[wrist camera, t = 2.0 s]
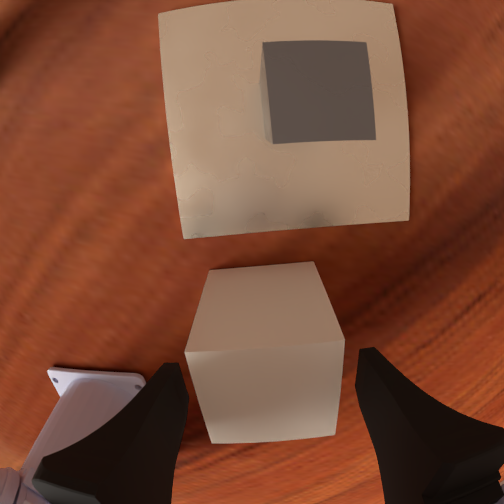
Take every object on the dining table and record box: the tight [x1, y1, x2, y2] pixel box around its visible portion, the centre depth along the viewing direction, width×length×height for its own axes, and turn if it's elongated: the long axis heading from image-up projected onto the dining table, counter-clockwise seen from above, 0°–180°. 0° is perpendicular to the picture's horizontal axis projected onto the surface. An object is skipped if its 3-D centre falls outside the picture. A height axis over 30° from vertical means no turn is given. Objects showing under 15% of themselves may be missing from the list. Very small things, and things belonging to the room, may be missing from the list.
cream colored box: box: [185, 261, 345, 443], centre depth 14 cm, size 5×5×7 cm
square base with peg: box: [158, 0, 410, 239], centre depth 10 cm, size 11×11×7 cm
